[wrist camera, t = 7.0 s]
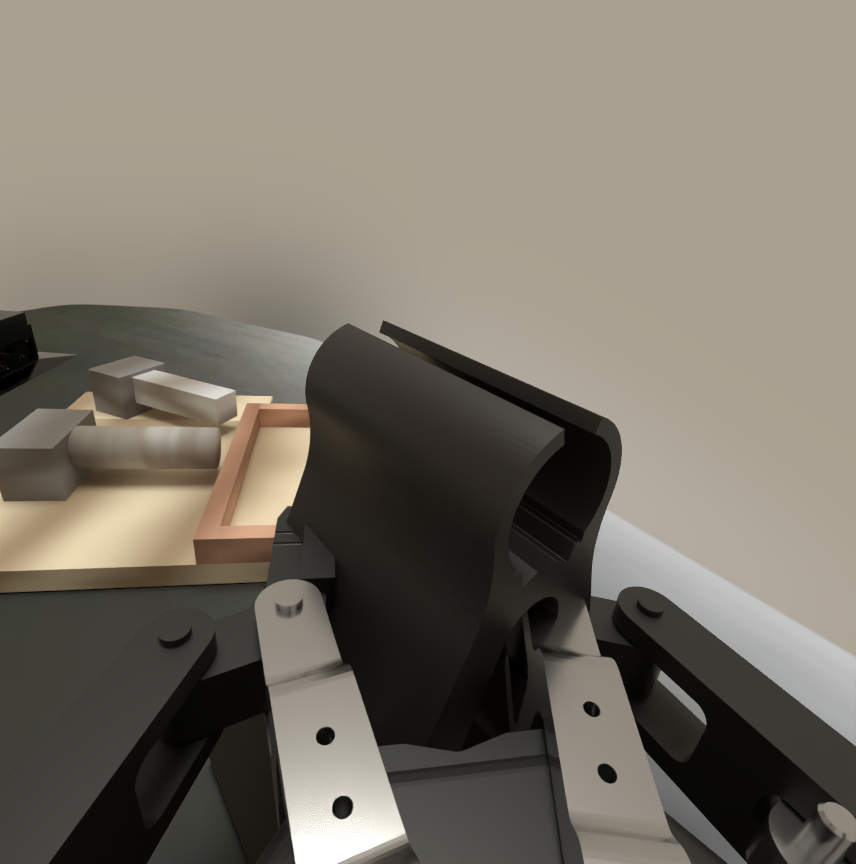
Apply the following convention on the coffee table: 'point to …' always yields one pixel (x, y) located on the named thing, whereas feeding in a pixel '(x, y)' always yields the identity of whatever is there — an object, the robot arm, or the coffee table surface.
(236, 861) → the coffee table surface
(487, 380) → the phone stand
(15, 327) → the black slotted box
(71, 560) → the stand
